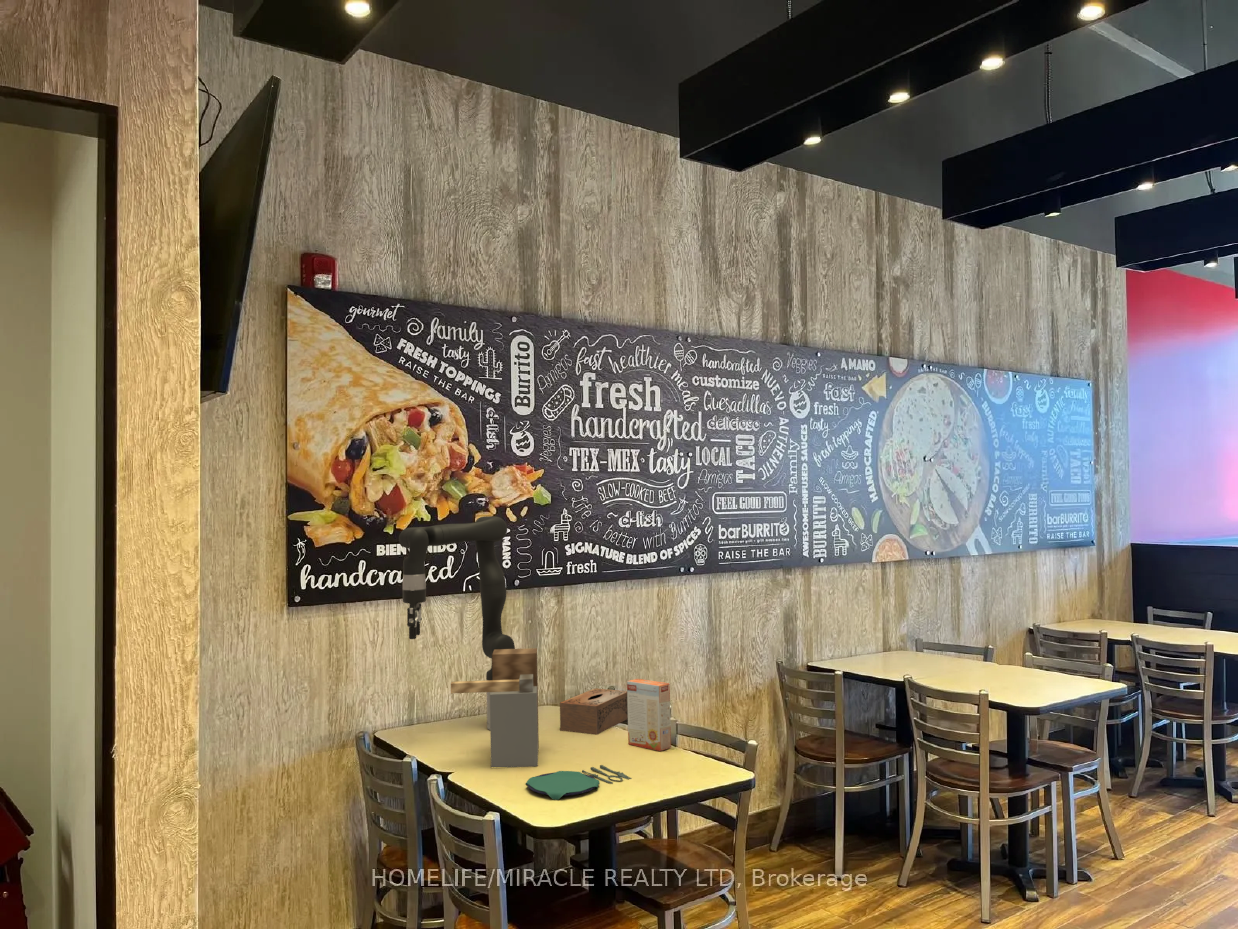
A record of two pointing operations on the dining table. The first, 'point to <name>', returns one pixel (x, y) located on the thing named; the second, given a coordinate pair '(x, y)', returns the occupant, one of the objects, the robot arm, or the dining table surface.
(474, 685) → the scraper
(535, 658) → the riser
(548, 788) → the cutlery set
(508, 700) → the grey tall block
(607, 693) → the tissue box cover
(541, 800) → the dining table surface
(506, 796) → the dining table surface
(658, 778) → the dining table surface
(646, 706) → the cracker box
